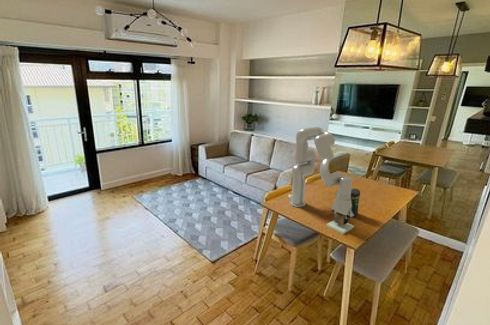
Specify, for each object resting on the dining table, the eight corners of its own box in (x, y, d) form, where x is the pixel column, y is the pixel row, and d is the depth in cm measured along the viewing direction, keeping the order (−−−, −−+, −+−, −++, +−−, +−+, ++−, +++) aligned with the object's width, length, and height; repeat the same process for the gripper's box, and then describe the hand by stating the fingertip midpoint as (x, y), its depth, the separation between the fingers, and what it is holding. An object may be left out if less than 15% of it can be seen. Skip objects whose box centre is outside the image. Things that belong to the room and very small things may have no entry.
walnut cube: (333, 221, 164) (334, 213, 163) (339, 218, 168) (340, 210, 166) (342, 225, 160) (343, 217, 158) (347, 222, 164) (348, 214, 162)
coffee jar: (348, 209, 187) (351, 186, 181) (359, 213, 182) (362, 189, 176) (341, 214, 181) (344, 190, 175) (352, 218, 175) (356, 193, 170)
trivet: (326, 226, 166) (326, 223, 166) (337, 220, 173) (337, 217, 173) (343, 234, 157) (343, 232, 157) (353, 227, 164) (353, 225, 164)
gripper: (328, 192, 163) (325, 217, 168) (353, 202, 150) (350, 229, 155) (335, 189, 167) (332, 214, 173) (360, 198, 154) (356, 225, 160)
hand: (340, 221), depth 164 cm, fingers closed on walnut cube, 6 cm apart
